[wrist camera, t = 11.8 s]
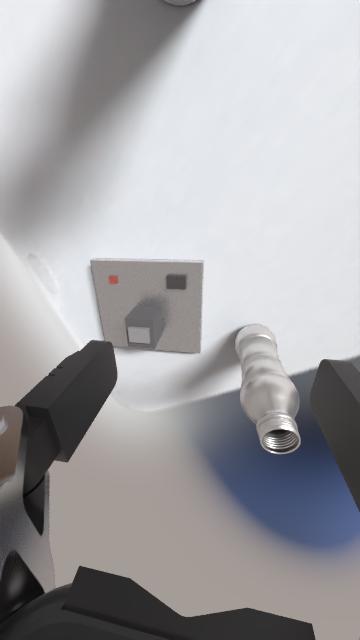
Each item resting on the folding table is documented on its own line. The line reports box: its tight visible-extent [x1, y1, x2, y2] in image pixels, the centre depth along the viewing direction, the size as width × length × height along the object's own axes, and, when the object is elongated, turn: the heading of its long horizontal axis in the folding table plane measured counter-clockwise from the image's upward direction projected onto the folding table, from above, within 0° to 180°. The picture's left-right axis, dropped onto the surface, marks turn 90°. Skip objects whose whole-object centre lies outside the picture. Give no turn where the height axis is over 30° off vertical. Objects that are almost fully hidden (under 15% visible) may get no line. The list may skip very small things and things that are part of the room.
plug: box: [124, 306, 162, 349], centre depth 37 cm, size 5×4×8 cm
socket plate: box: [90, 258, 204, 353], centre depth 38 cm, size 16×18×3 cm
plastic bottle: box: [235, 324, 300, 454], centre depth 30 cm, size 6×7×20 cm
